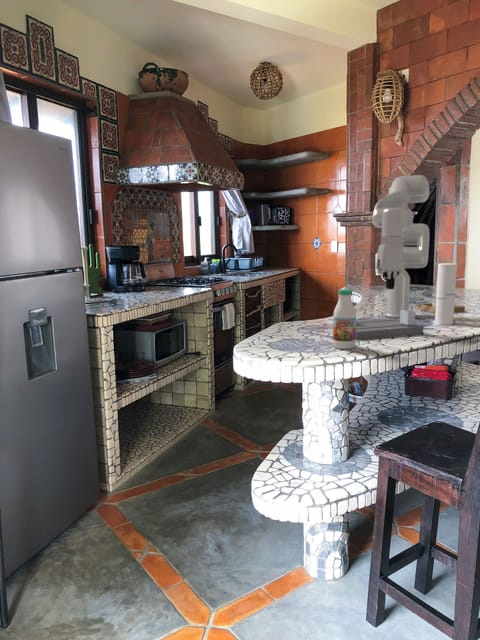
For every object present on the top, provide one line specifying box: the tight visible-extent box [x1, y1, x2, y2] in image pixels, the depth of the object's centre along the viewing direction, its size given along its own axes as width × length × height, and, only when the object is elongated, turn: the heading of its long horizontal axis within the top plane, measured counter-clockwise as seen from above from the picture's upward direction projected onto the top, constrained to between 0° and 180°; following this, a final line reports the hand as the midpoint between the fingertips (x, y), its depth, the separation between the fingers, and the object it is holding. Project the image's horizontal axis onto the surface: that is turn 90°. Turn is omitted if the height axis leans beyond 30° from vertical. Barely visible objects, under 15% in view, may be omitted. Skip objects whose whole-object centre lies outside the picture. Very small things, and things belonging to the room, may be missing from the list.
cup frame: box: [417, 302, 466, 314], centre depth 227 cm, size 15×15×2 cm
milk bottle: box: [332, 288, 357, 350], centre depth 159 cm, size 8×8×20 cm
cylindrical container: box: [434, 262, 458, 326], centre depth 195 cm, size 7×7×25 cm
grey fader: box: [399, 309, 416, 325], centre depth 180 cm, size 5×3×5 cm, turn 15°
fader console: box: [356, 317, 424, 341], centre depth 183 cm, size 19×28×3 cm
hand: (389, 288), depth 182 cm, fingers closed
